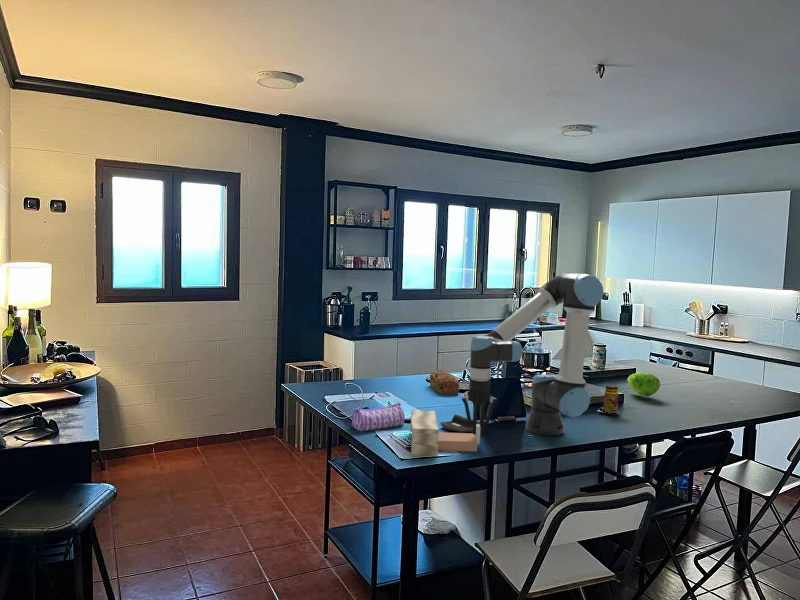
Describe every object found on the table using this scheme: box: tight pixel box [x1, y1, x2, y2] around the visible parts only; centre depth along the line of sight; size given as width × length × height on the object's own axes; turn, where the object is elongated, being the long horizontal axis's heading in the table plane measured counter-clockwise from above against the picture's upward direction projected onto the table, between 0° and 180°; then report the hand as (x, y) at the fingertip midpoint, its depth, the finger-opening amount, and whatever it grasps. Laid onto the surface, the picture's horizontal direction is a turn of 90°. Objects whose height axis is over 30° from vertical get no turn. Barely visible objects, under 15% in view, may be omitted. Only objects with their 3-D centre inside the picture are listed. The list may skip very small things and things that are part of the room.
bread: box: [429, 370, 460, 396], centre depth 301 cm, size 19×11×10 cm, turn 12°
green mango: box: [627, 372, 661, 397], centre depth 313 cm, size 14×20×12 cm
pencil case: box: [351, 402, 406, 432], centre depth 235 cm, size 22×9×10 cm, turn 128°
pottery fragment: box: [440, 414, 480, 433], centre depth 236 cm, size 15×12×4 cm
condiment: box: [597, 384, 619, 414], centre depth 274 cm, size 7×8×12 cm
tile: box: [438, 431, 478, 452], centre depth 217 cm, size 14×10×4 cm
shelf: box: [409, 409, 440, 457], centre depth 217 cm, size 9×24×10 cm, turn 0°
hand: (477, 442), depth 217 cm, fingers closed
